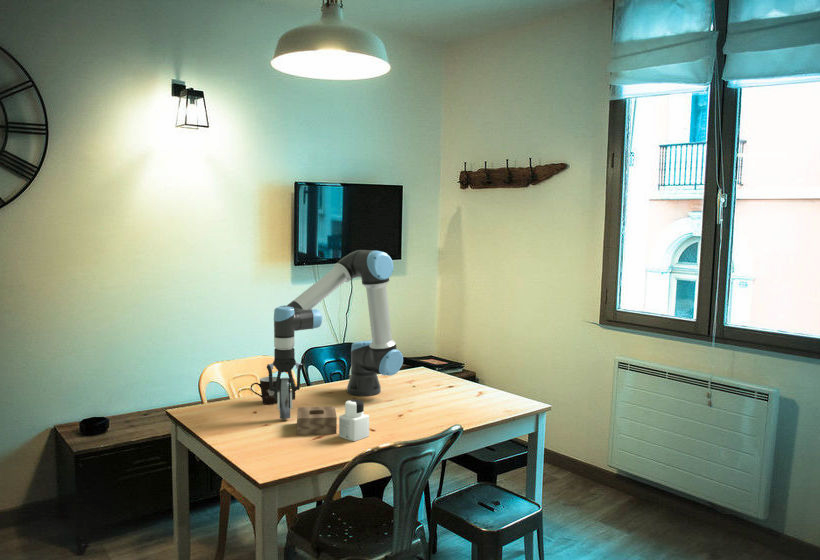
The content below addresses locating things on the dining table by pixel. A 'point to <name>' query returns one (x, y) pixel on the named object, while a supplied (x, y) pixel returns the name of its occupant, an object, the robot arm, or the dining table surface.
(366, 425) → the container
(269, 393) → the coffee mug
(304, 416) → the bore block
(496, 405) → the dining table surface
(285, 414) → the pin
